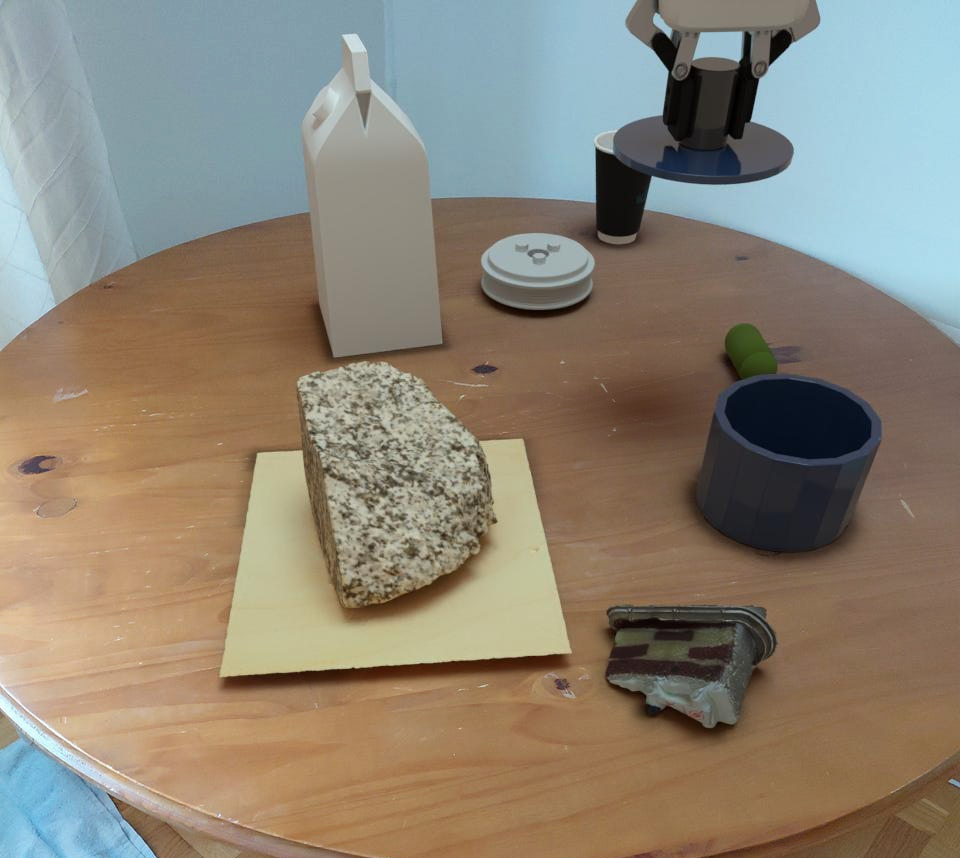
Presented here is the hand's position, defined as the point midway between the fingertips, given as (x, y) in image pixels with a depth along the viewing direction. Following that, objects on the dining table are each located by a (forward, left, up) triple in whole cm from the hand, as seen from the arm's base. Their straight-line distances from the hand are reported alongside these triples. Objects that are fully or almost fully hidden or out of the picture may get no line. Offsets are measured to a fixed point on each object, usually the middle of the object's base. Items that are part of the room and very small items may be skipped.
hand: (704, 131), depth 67 cm
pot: (-7, +15, -24) cm, 29 cm away
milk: (+26, -19, -24) cm, 41 cm away
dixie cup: (-4, -39, -24) cm, 46 cm away
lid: (+8, -25, -24) cm, 36 cm away
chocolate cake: (+6, +34, -24) cm, 42 cm away
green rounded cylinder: (-11, -6, -24) cm, 27 cm away
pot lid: (0, 0, -1) cm, 1 cm away
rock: (+25, +18, -24) cm, 39 cm away
